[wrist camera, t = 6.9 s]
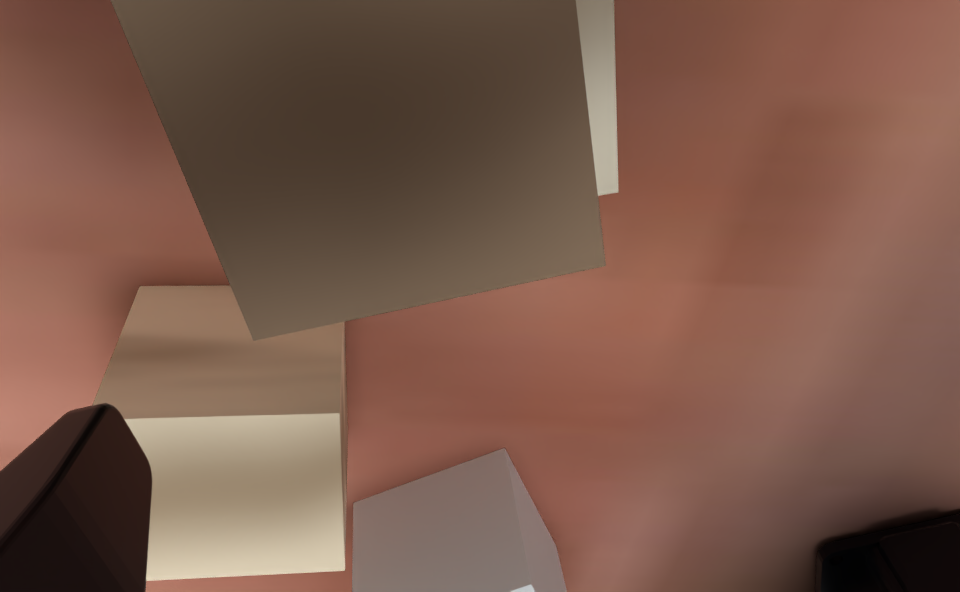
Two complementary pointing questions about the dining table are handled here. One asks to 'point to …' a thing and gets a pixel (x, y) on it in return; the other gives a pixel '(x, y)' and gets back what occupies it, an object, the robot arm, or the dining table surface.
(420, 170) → the walnut block
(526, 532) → the grey block
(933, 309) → the dining table surface
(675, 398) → the dining table surface
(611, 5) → the cream square block
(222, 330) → the maple block
